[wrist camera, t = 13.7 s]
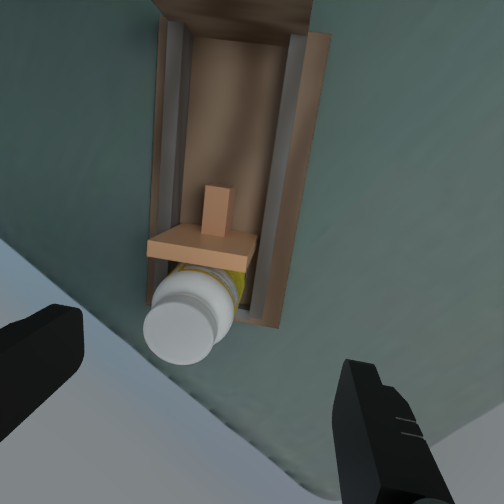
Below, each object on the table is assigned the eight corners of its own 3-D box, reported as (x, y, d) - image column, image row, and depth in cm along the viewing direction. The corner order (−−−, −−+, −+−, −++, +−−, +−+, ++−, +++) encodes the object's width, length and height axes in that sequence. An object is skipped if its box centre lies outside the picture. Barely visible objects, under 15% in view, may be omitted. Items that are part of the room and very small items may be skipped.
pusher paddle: (264, 191, 27) (255, 198, 20) (256, 246, 29) (245, 272, 21) (186, 179, 28) (150, 182, 21) (182, 234, 29) (146, 256, 22)
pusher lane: (330, 38, 25) (351, -31, 16) (278, 324, 32) (275, 381, 23) (163, 20, 26) (101, -54, 17) (149, 301, 33) (100, 346, 24)
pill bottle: (203, 307, 31) (159, 385, 21) (175, 254, 30) (112, 310, 19) (258, 287, 30) (240, 361, 19) (231, 230, 28) (196, 277, 18)
